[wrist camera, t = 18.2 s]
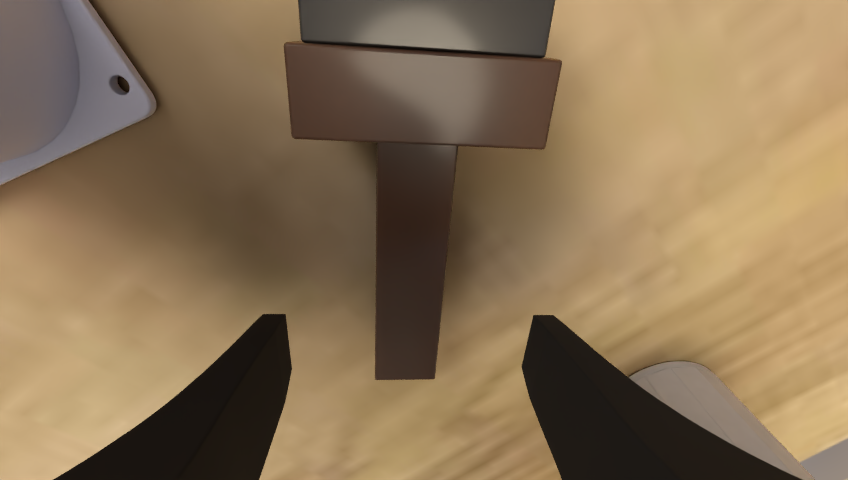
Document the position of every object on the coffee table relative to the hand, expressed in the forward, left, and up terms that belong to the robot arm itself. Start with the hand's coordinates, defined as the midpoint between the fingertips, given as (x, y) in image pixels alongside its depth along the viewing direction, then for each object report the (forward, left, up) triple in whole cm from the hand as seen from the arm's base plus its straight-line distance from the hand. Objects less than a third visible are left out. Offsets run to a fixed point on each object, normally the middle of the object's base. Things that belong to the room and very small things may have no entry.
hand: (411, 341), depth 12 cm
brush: (-3, +1, -4) cm, 5 cm away
